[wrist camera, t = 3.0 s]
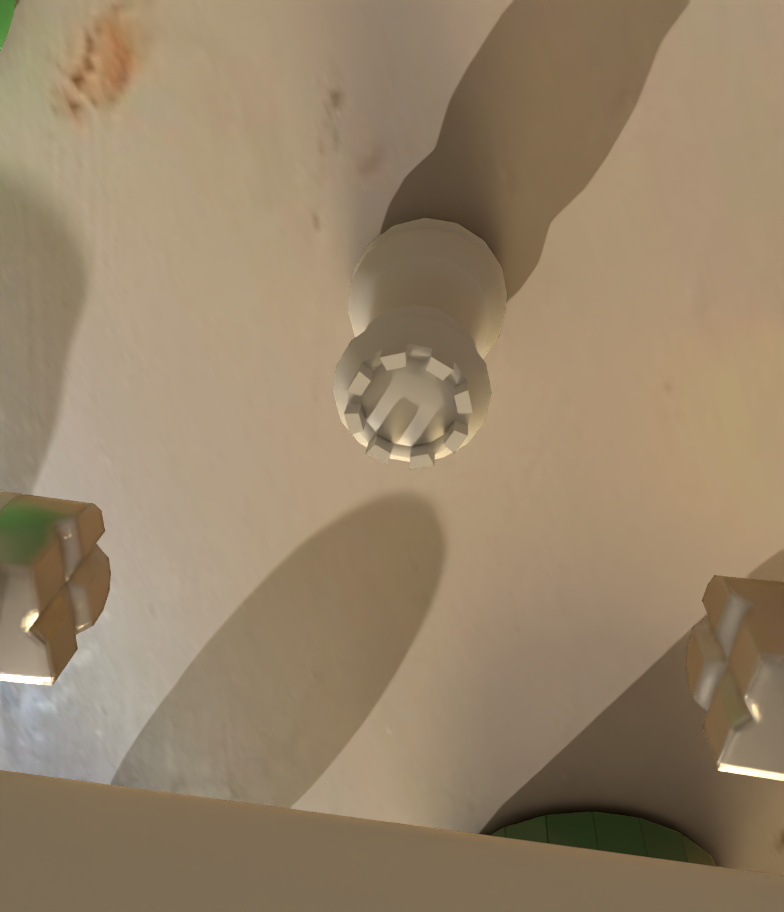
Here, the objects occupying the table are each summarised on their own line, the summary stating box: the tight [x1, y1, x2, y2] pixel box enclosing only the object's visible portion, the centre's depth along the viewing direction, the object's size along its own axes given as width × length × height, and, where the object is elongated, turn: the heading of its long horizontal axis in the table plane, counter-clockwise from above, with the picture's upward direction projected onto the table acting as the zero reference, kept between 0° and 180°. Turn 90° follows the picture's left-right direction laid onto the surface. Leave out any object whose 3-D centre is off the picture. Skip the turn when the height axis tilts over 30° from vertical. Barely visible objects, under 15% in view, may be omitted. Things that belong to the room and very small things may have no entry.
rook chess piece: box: [333, 218, 507, 470], centre depth 18 cm, size 4×4×8 cm
